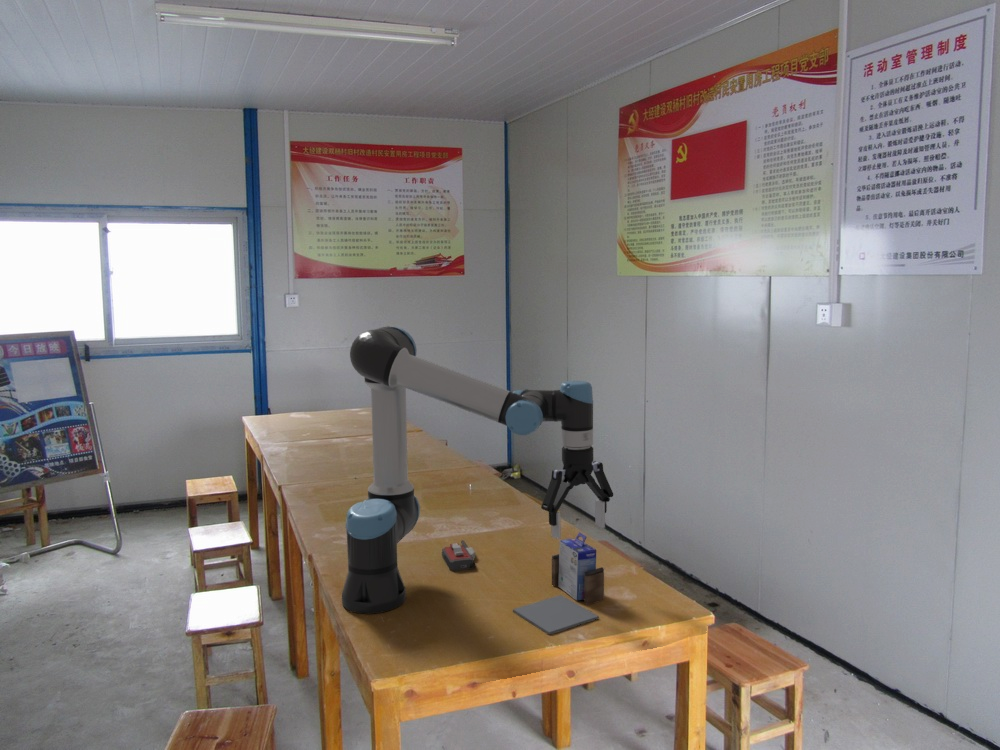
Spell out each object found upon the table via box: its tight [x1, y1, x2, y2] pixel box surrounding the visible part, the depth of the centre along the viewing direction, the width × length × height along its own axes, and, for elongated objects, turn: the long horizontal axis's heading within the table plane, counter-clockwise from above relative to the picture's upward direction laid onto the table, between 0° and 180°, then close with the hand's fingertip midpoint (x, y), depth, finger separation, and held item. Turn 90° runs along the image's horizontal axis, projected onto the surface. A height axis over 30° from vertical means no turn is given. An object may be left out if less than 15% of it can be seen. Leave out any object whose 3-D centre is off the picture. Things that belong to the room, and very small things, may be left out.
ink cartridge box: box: [557, 532, 597, 602], centre depth 187 cm, size 10×6×14 cm, turn 24°
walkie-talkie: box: [441, 539, 477, 572], centre depth 211 cm, size 9×4×20 cm
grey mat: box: [512, 594, 600, 636], centre depth 175 cm, size 14×14×1 cm
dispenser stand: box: [551, 553, 605, 606], centre depth 187 cm, size 5×14×8 cm, turn 33°
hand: (578, 532), depth 185 cm, fingers open, 13 cm apart
